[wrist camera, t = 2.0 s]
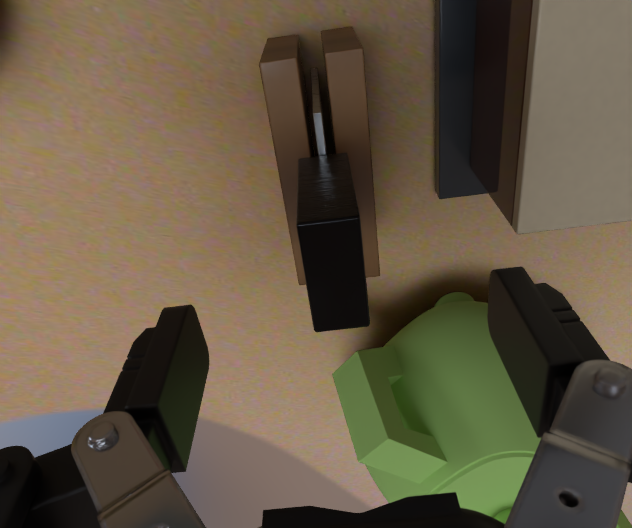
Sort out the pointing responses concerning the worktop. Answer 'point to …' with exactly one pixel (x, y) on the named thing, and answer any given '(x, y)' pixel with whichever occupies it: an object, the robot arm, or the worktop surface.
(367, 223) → the knife block
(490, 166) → the cake
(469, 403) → the teapot
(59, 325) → the worktop surface
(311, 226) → the knife
